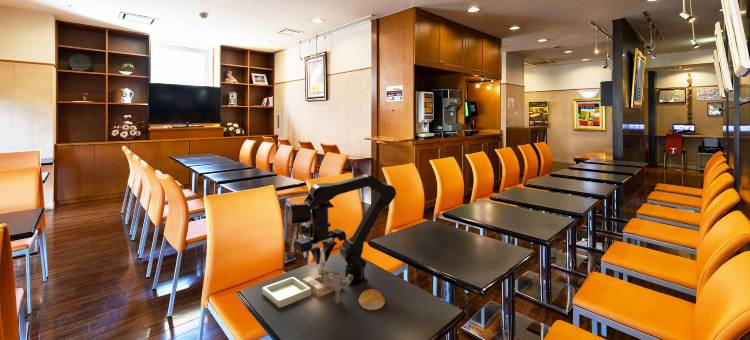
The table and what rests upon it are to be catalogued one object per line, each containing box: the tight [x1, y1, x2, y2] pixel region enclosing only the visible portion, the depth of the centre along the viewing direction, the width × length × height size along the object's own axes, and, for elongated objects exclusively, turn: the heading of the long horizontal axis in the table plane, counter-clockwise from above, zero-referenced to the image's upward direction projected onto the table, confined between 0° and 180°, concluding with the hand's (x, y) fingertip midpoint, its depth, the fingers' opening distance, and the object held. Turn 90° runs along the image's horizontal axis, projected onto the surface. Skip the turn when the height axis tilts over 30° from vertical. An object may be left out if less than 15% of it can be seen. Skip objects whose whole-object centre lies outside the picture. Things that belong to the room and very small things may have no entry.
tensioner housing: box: [302, 273, 343, 298], centre depth 128 cm, size 10×10×3 cm
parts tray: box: [262, 276, 312, 309], centre depth 123 cm, size 12×12×2 cm
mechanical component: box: [322, 270, 353, 304], centre depth 117 cm, size 3×10×10 cm, turn 78°
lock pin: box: [316, 247, 327, 275], centre depth 127 cm, size 3×3×9 cm
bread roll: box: [358, 288, 386, 311], centre depth 117 cm, size 8×9×4 cm
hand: (321, 262), depth 127 cm, fingers closed on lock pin, 3 cm apart
